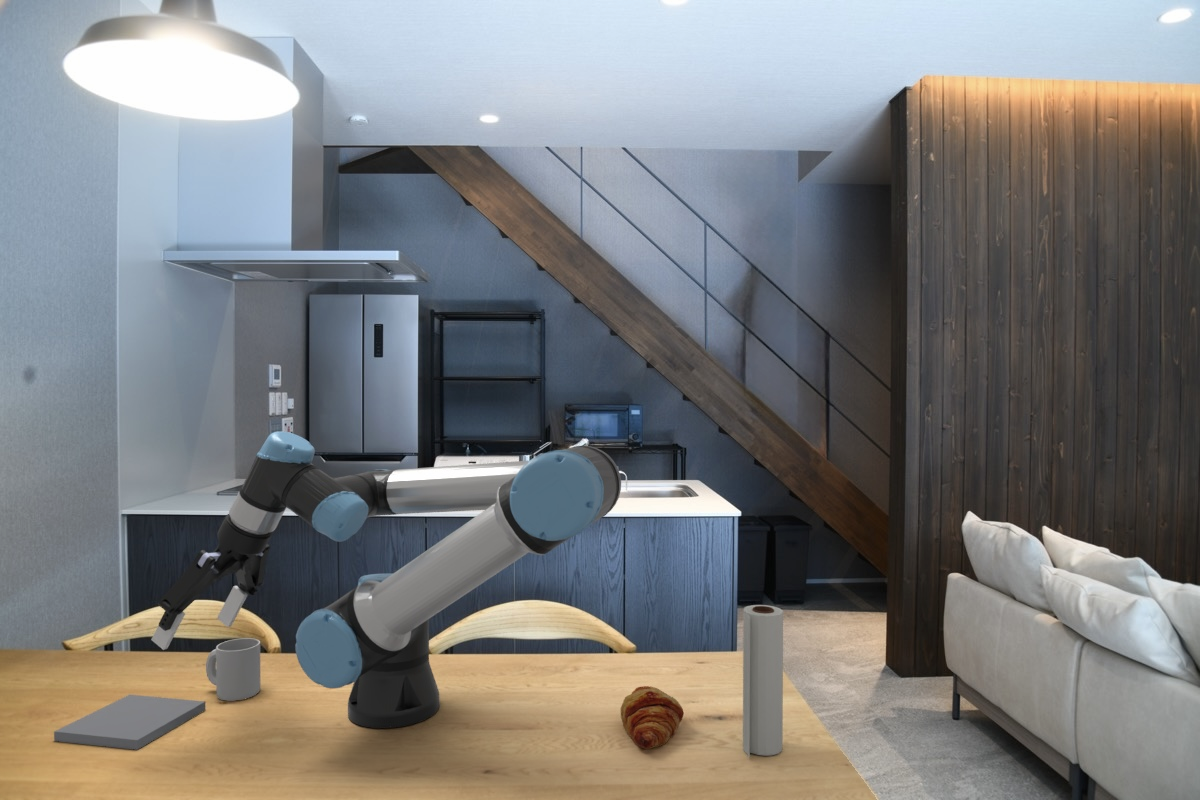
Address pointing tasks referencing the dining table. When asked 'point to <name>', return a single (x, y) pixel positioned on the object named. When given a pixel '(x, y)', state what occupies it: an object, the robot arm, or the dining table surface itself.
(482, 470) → the robot arm
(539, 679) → the dining table surface
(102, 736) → the slate tile
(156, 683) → the dining table surface
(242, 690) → the cup
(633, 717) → the croissant
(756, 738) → the paper towel roll
